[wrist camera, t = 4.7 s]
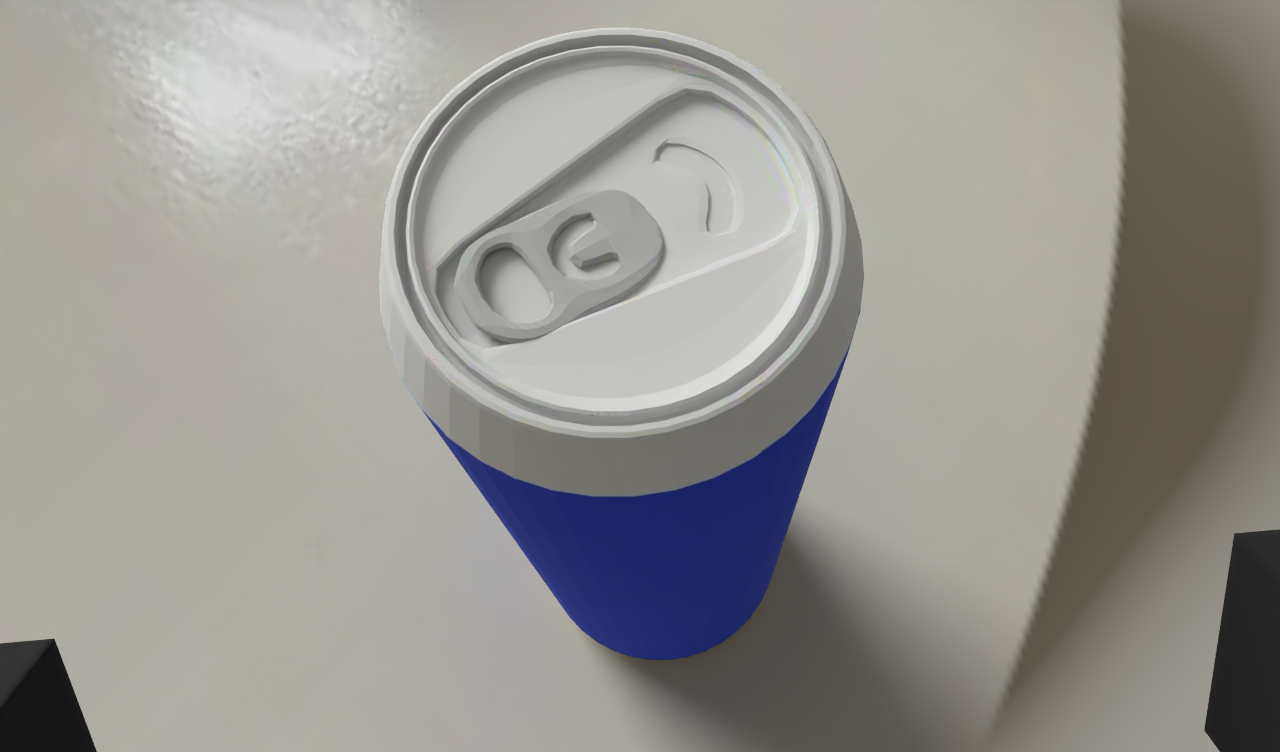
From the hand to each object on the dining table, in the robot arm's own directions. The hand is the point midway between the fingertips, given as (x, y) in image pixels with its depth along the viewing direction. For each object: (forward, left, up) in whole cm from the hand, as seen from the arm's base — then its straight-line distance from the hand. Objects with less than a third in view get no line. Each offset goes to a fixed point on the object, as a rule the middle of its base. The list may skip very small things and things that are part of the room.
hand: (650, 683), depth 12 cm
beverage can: (0, -4, -12) cm, 12 cm away
